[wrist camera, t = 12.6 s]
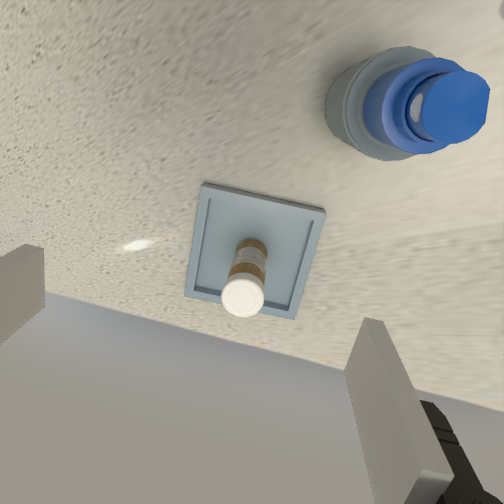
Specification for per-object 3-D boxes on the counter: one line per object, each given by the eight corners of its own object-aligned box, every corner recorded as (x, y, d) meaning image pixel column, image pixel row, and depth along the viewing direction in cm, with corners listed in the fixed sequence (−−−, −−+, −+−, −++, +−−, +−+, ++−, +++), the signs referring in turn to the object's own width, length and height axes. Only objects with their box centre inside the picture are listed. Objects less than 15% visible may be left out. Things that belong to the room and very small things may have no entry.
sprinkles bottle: (253, 274, 52) (245, 326, 39) (228, 254, 51) (211, 301, 38) (275, 251, 50) (273, 298, 38) (249, 230, 49) (239, 271, 37)
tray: (204, 182, 48) (201, 186, 46) (324, 209, 48) (325, 213, 46) (187, 288, 54) (184, 296, 52) (293, 312, 54) (294, 320, 52)
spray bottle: (319, 141, 45) (359, 180, 22) (331, 60, 42) (393, 5, 19) (392, 148, 45) (511, 195, 22) (410, 67, 41) (574, 20, 18)
